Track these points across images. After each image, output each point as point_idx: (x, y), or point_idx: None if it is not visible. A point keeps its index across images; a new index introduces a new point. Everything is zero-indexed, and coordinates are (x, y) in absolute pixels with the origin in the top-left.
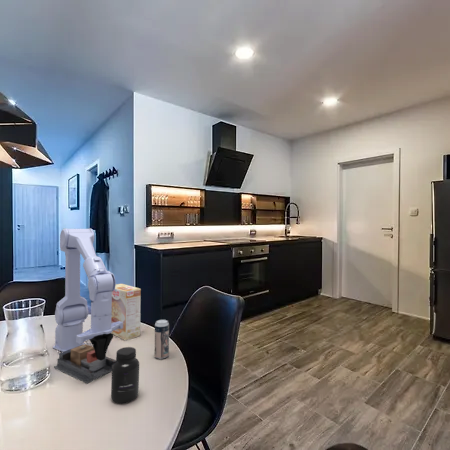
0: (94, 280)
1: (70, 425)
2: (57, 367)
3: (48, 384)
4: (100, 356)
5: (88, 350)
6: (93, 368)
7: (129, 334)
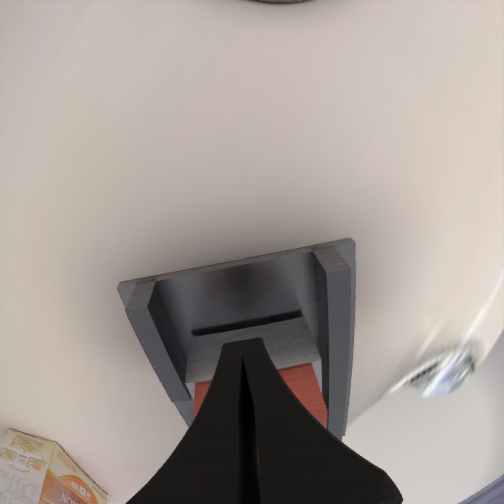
0: None
1: (497, 15)
2: (343, 426)
3: (426, 343)
4: (270, 363)
5: None
6: (279, 334)
7: (37, 453)
